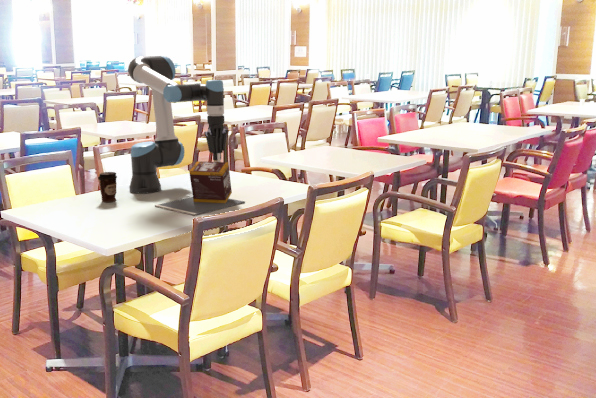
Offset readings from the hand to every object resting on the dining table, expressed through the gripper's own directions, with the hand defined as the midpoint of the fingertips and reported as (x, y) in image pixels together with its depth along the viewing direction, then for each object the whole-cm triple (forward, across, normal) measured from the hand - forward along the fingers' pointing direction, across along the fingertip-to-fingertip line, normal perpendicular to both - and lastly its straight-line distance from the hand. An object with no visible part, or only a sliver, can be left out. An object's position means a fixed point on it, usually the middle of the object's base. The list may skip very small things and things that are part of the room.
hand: (217, 167), depth 293 cm
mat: (+15, -11, 0) cm, 19 cm away
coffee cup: (+16, -32, +38) cm, 52 cm away
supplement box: (+14, -3, 0) cm, 14 cm away
